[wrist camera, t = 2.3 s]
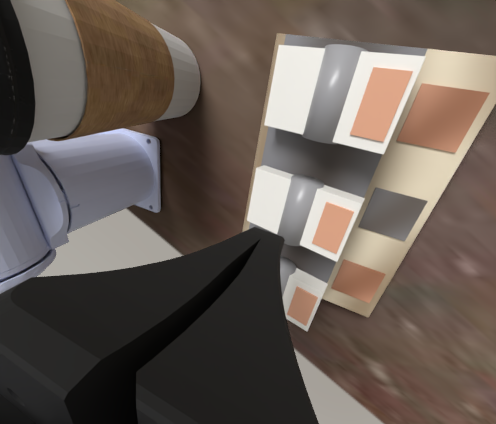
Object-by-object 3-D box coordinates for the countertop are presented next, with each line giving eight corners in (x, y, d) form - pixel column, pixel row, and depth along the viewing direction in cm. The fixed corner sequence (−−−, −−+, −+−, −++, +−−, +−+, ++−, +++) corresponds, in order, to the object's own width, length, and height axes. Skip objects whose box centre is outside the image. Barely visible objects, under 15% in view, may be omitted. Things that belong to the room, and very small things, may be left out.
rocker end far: (244, 278, 19) (231, 290, 18) (251, 240, 17) (238, 250, 16) (313, 318, 17) (304, 336, 15) (330, 279, 15) (322, 296, 14)
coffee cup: (227, 118, 19) (-33, 138, 6) (152, 141, 22) (-107, 183, 10) (195, -7, 16) (-369, -430, 4) (117, 41, 20) (-297, -78, 7)
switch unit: (242, 255, 24) (224, 279, 20) (283, 39, 15) (264, 19, 12) (367, 304, 20) (370, 343, 17) (504, 64, 12) (564, 46, 9)
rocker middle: (257, 214, 16) (243, 223, 15) (267, 162, 15) (253, 167, 13) (341, 252, 14) (334, 267, 13) (366, 194, 12) (361, 204, 11)
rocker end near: (275, 126, 14) (260, 127, 12) (290, 49, 12) (275, 40, 11) (384, 153, 11) (381, 158, 10) (424, 60, 9) (428, 50, 8)
